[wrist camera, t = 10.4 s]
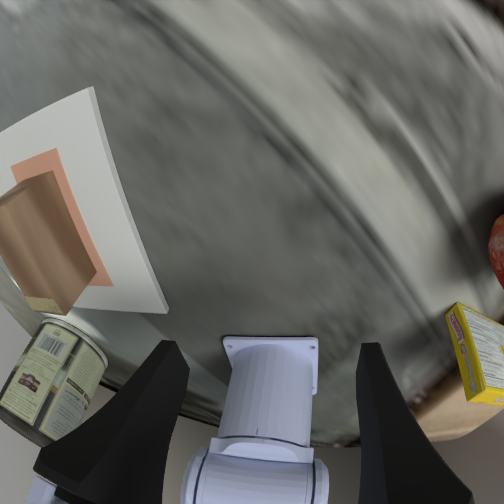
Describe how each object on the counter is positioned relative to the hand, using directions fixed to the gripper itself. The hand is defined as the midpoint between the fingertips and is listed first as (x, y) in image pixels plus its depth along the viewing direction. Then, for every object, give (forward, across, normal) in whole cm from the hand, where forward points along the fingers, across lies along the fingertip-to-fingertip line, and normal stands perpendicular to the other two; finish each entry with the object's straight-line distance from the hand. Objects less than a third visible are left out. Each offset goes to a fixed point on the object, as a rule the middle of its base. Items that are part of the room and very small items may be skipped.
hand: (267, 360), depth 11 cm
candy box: (+10, -20, +12) cm, 25 cm away
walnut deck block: (+9, +17, -2) cm, 19 cm away
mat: (+9, +17, -2) cm, 20 cm away
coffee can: (+10, +27, +15) cm, 32 cm away
